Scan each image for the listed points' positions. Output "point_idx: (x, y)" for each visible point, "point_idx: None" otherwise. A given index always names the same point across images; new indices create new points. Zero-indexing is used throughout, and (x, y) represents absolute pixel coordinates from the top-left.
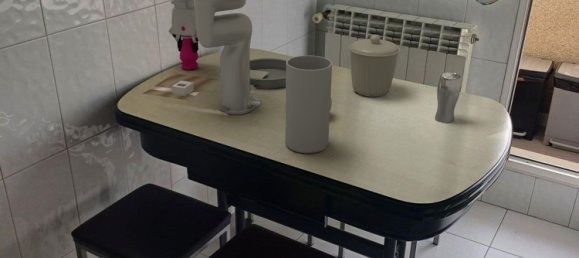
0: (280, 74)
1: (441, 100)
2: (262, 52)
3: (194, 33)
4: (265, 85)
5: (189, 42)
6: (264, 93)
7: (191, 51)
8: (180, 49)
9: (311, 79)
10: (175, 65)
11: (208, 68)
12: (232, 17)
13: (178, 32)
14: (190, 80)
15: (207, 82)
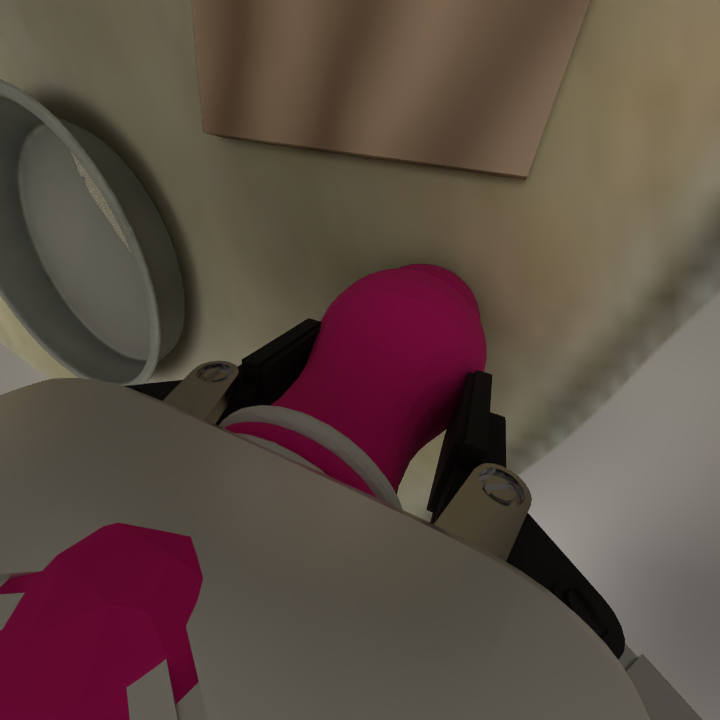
0: (94, 306)
1: None
2: None
3: (14, 390)
4: (19, 115)
5: (294, 385)
6: (7, 44)
7: (327, 322)
8: (464, 388)
9: None
10: (554, 426)
11: None
12: None
13: (376, 562)
14: (340, 14)
15: (219, 23)
